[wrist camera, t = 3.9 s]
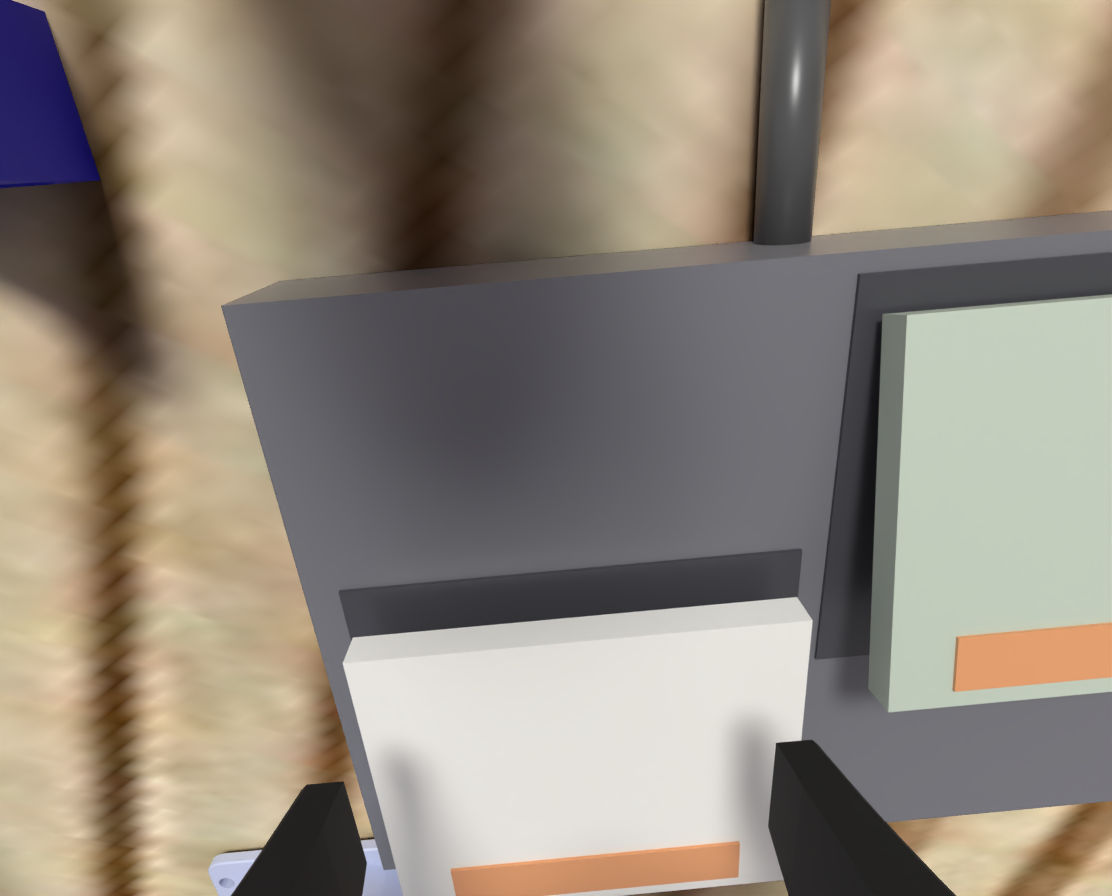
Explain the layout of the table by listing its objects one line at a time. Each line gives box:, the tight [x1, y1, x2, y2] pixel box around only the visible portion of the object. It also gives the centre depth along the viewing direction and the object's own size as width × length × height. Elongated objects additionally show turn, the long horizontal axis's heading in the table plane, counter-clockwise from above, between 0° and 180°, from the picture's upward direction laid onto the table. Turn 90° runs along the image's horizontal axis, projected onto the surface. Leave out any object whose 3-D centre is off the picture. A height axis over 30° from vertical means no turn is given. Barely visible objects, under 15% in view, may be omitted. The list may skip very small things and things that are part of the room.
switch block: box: [221, 0, 1112, 870], centre depth 15 cm, size 22×22×3 cm
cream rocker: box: [343, 597, 813, 896], centre depth 15 cm, size 8×10×1 cm
